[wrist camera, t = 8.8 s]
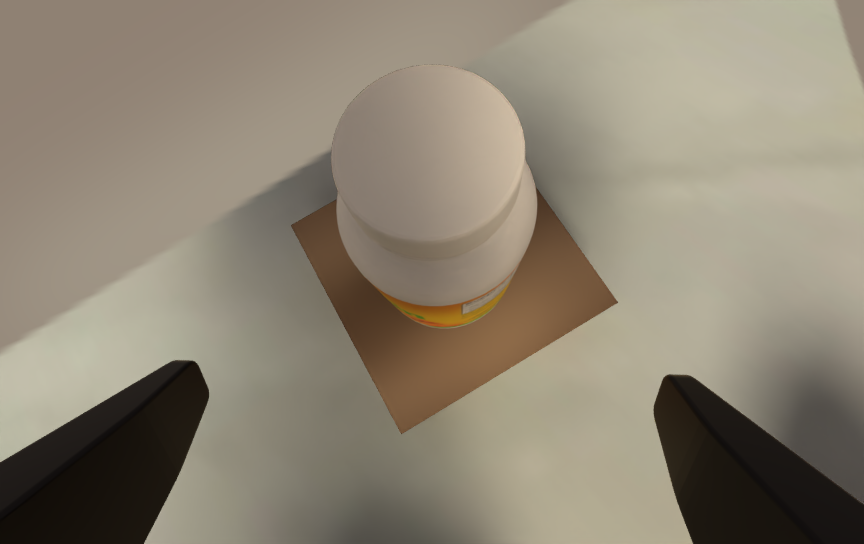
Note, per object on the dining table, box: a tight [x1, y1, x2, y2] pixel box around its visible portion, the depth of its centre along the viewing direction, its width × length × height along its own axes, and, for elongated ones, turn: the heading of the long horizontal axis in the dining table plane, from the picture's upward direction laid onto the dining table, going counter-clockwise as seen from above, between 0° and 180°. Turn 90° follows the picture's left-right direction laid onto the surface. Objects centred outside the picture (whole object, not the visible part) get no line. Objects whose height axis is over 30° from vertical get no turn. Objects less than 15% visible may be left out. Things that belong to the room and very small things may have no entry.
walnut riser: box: [291, 188, 618, 434], centre depth 20 cm, size 10×10×4 cm
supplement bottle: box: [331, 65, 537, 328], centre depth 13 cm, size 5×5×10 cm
